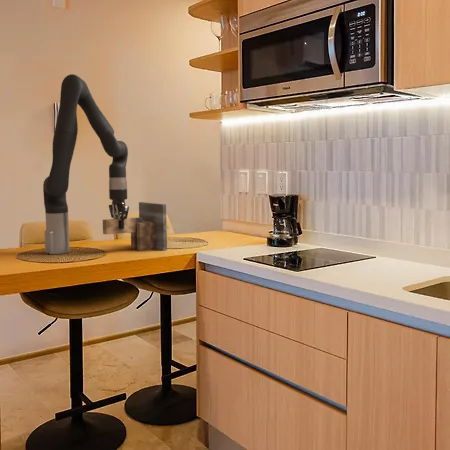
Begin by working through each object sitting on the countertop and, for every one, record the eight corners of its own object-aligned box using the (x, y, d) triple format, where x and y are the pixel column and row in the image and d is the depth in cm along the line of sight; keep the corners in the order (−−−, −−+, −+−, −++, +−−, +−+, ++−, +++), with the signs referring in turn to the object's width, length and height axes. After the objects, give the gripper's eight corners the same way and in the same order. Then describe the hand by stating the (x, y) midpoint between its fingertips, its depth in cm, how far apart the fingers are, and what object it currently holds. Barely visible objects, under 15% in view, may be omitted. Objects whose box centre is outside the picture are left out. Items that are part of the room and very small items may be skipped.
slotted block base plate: (148, 252, 229) (146, 205, 226) (124, 247, 244) (123, 203, 242) (166, 250, 235) (166, 204, 232) (142, 245, 250) (141, 202, 248)
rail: (106, 234, 225) (106, 220, 224) (102, 233, 227) (102, 219, 227) (143, 231, 237) (143, 217, 236) (139, 230, 239) (139, 217, 238)
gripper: (102, 188, 231) (103, 228, 233) (118, 189, 221) (119, 231, 223) (117, 187, 236) (119, 226, 238) (134, 188, 226) (135, 229, 227)
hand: (119, 228), depth 230 cm, fingers closed on rail, 3 cm apart
